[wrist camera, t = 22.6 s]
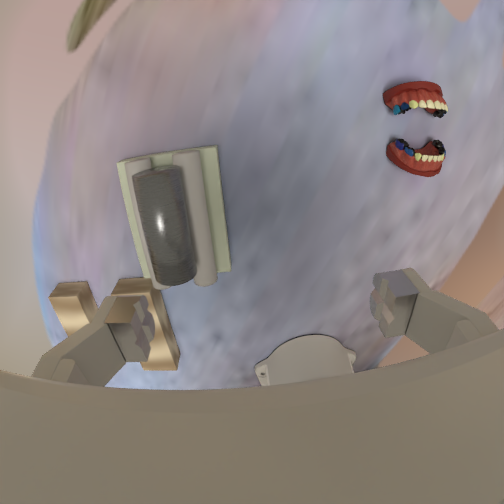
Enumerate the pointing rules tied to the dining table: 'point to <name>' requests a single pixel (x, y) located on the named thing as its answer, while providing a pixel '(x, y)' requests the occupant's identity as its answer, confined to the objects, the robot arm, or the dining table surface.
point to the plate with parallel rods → (197, 206)
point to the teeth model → (399, 151)
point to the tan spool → (84, 306)
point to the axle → (165, 224)
